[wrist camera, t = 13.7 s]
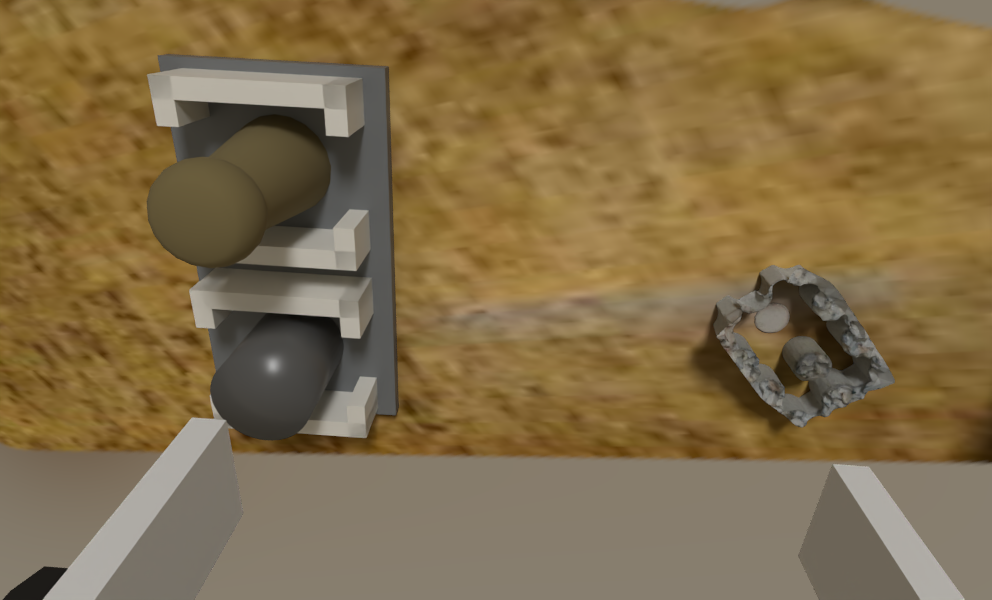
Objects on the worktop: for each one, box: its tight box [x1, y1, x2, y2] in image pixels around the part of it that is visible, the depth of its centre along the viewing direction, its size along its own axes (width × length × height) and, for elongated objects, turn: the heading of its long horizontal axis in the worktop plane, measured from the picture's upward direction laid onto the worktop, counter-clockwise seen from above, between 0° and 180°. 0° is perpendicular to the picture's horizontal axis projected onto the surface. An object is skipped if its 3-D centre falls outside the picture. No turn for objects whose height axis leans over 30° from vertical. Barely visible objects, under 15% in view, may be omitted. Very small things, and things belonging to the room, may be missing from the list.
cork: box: [147, 114, 331, 268], centre depth 32 cm, size 6×6×11 cm
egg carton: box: [713, 265, 895, 427], centre depth 40 cm, size 11×8×4 cm
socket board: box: [147, 54, 399, 440], centre depth 37 cm, size 13×24×8 cm, turn 177°
